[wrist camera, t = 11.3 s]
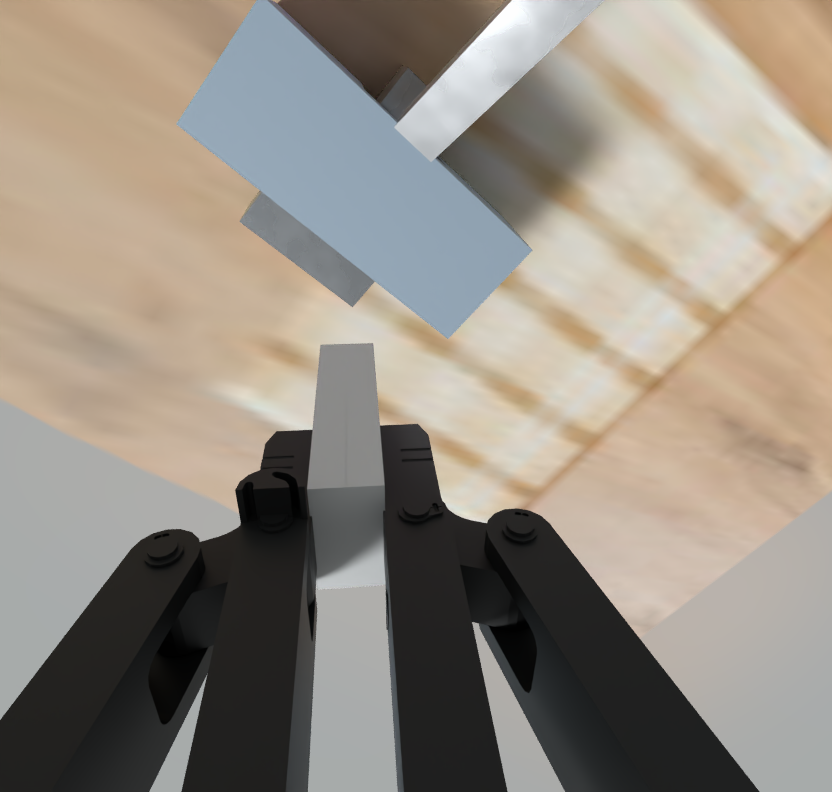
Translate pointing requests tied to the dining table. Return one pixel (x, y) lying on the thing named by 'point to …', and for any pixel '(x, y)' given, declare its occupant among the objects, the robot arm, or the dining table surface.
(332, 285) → the gray block
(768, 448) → the dining table surface
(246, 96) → the hitch block
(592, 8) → the latch bar
